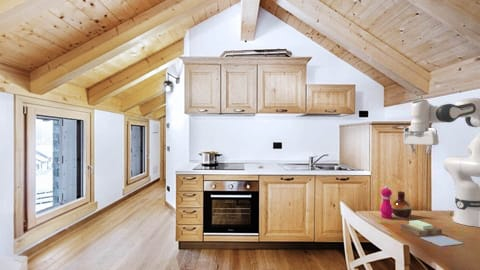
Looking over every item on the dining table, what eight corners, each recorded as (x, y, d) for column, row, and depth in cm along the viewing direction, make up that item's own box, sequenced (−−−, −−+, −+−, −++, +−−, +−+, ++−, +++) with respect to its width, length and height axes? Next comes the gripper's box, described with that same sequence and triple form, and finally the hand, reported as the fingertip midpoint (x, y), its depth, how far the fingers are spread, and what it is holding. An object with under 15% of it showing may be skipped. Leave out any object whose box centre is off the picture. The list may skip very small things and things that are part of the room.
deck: (421, 227, 153) (421, 222, 153) (441, 235, 141) (441, 229, 141) (400, 229, 150) (400, 224, 150) (419, 237, 138) (419, 231, 138)
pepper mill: (386, 219, 168) (386, 187, 168) (377, 216, 175) (377, 185, 175) (395, 218, 170) (395, 186, 170) (386, 215, 177) (386, 184, 177)
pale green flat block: (418, 223, 151) (418, 220, 151) (432, 228, 142) (432, 225, 142) (409, 224, 150) (408, 220, 150) (423, 229, 141) (423, 226, 141)
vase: (403, 219, 169) (403, 194, 169) (387, 214, 179) (387, 191, 179) (415, 217, 173) (415, 192, 173) (399, 212, 183) (399, 189, 183)
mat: (441, 235, 141) (441, 234, 141) (463, 244, 129) (463, 243, 129) (420, 237, 138) (420, 237, 138) (441, 246, 127) (441, 245, 127)
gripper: (441, 127, 145) (441, 153, 145) (410, 129, 165) (410, 151, 165) (431, 127, 143) (432, 154, 143) (401, 129, 163) (401, 152, 163)
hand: (420, 152), depth 154 cm, fingers open, 8 cm apart
